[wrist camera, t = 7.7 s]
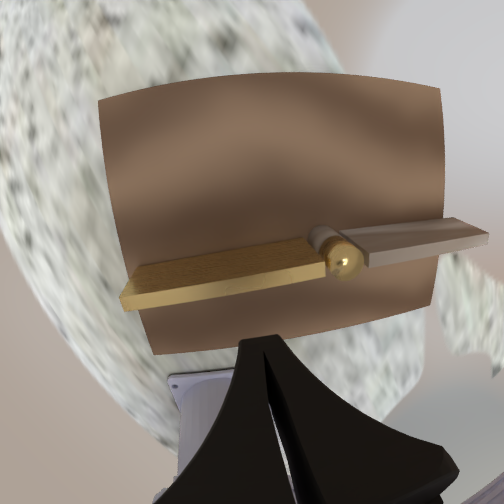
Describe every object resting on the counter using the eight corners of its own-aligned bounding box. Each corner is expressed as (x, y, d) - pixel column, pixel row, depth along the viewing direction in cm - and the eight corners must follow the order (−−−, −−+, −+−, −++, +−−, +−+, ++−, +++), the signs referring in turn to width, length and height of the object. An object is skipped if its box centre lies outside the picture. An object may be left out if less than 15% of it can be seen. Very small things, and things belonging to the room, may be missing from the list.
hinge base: (433, 296, 22) (468, 326, 17) (155, 346, 20) (144, 395, 15) (442, 92, 16) (489, 88, 11) (104, 102, 14) (65, 90, 9)
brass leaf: (335, 223, 17) (364, 244, 14) (336, 251, 18) (363, 277, 14) (134, 259, 16) (115, 288, 13) (142, 286, 17) (127, 320, 13)
